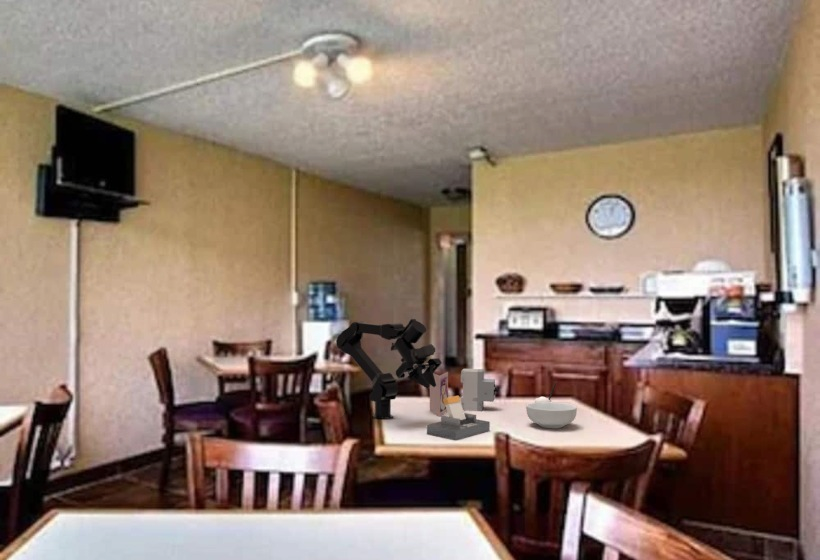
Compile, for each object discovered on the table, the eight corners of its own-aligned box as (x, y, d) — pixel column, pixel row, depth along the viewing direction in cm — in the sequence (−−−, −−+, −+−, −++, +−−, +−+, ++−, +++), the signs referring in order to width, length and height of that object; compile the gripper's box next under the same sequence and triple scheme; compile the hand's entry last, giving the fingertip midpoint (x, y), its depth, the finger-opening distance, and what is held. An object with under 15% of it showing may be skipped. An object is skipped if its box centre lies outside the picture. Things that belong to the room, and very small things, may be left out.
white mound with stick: (529, 414, 253) (527, 382, 253) (535, 411, 258) (534, 380, 258) (553, 416, 248) (551, 384, 248) (559, 413, 253) (557, 381, 253)
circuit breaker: (497, 411, 256) (498, 372, 256) (460, 410, 259) (460, 371, 259) (499, 408, 264) (499, 369, 264) (462, 406, 266) (463, 368, 266)
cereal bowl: (580, 423, 236) (580, 403, 236) (571, 433, 221) (571, 412, 221) (533, 419, 243) (533, 399, 243) (520, 428, 228) (520, 407, 228)
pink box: (441, 417, 246) (441, 375, 246) (422, 415, 248) (422, 374, 248) (449, 411, 257) (450, 371, 257) (431, 409, 259) (431, 370, 259)
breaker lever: (451, 424, 220) (442, 399, 222) (463, 421, 224) (454, 397, 227) (455, 422, 218) (446, 397, 221) (467, 419, 223) (458, 395, 226)
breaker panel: (426, 433, 219) (426, 417, 219) (461, 425, 232) (461, 409, 232) (455, 440, 211) (456, 422, 211) (489, 430, 224) (489, 414, 224)
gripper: (402, 338, 226) (426, 374, 219) (437, 335, 240) (462, 369, 232) (385, 360, 231) (408, 396, 224) (421, 355, 245) (444, 389, 238)
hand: (431, 387), depth 229 cm, fingers open, 3 cm apart
